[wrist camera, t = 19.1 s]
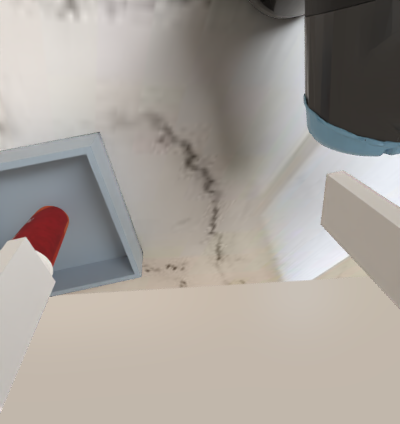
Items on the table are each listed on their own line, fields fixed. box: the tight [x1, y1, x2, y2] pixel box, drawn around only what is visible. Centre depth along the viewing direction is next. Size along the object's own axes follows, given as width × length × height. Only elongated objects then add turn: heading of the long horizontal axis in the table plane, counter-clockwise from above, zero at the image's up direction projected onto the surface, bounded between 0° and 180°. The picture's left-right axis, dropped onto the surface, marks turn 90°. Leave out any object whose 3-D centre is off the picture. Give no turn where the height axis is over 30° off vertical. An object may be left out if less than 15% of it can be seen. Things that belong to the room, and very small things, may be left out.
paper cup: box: [11, 206, 69, 275], centre depth 42 cm, size 8×8×14 cm
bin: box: [0, 132, 143, 297], centre depth 46 cm, size 26×26×7 cm
